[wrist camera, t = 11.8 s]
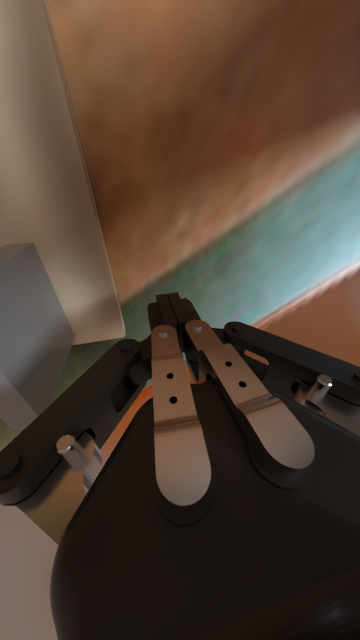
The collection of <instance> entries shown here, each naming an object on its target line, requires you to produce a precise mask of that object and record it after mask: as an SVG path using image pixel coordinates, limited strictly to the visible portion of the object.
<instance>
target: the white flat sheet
mask: <svg viewBox="0 0 360 640" xmlns="http://www.w3.org/2000/svg"><path fill="white" fill-rule="evenodd" d="M23 243H34V245H35V247H36V250H37V252H38V254H39V256H40V259H41V261H42V263H43V265H44V268H45V270H46V272H47V274H48V277H49V279H50V281H51V283H52V286H53V288H54V290H55V292H56V295H57V297H58V299H59V301H60V304H61V306H62V308H63V310H64V313H65V315H66V317H67V319H68V322H69V324H70V326H71V328H72V331H73V333H74V335H75V338H74V341H73V344H72V345H78V344H84V343H91V342H97V341H103V340H109V339H115V338H121V337H125V325H124V321H123V317H122V313H121V309H120V305H119V300H118V296H117V292H116V288H115V284H114V280H113V275H112V271H111V267H110V263H109V259H108V255H107V250H106V246H105V242H104V238H103V234H102V230H101V225H100V221H99V217H98V213H97V209H96V205H95V200H94V196H93V192H92V188H91V184H90V180H89V175H88V171H87V167H86V163H85V159H84V155H83V150H82V146H81V142H80V138H79V134H78V130H77V125H76V121H75V117H74V113H73V109H72V105H71V100H70V96H69V92H68V88H67V84H66V80H65V75H64V71H63V67H62V63H61V59H60V55H59V50H58V46H57V42H56V38H55V34H54V30H53V25H52V21H51V17H50V13H49V9H48V5H47V0H0V248H1V247H3V246H5V245H10V244H23Z"/></svg>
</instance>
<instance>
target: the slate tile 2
mask: <svg viewBox="0 0 360 640" xmlns="http://www.w3.org/2000/svg"><path fill="white" fill-rule="evenodd" d="M74 338H75V335H74V333H73V331H72V328H71V326H70V324H69V322H68V319H67V317H66V315H65V313H64V310H63V308H62V306H61V304H60V301H59V299H58V297H57V295H56V292H55V290H54V288H53V286H52V283H51V281H50V279H49V277H48V274H47V272H46V270H45V268H44V265H43V263H42V261H41V259H40V256H39V254H38V252H37V250H36V247H35V245H34V243H23V244H10V245H5V246H3V247H1V248H0V419H1V420H2V421H3V422H4V423H5V424H6V425H8V426H9V427H10V428H11V429H12V430H13V431H14V432H16V431H20V430H24V429H25V428H26V427H27V426H28V425H30V424H31V423H32V422H33V421H34V420H35V419H36V418H37V417H38V416H39V415H40V414H41V413H42V412H43V411H44V410H45V409H47V408H48V407H49V406H50V405H51V404H52V403H53V402H54V399H55V396H56V393H57V390H58V387H59V384H60V380H61V377H62V374H63V371H64V368H65V365H66V362H67V359H68V356H69V353H70V350H71V347H72V344H73V341H74Z"/></svg>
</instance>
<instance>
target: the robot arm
mask: <svg viewBox="0 0 360 640" xmlns="http://www.w3.org/2000/svg"><path fill="white" fill-rule="evenodd" d="M147 310H148V317H149V324H150V330H151V334H150V336H149V337H148V338H147V339H145V340H143V341H141V342H138V341H136V340H134V339H123V340H121V341H119V342H117V343H116V344H115V345H113V346H112V347H111V348H110V349H109V350H108V351H107V352H106V353H105V354H104V355H103V356H102V357H101V358H100V359H99V360H98V361H96V362H95V363H94V364H93V365H92V366H91V367H90V368H89V369H88V370H87V371H86V372H85V373H84V374H83V375H82V376H81V377H79V378H78V379H77V380H76V381H75V382H74V383H73V384H72V385H71V386H70V387H69V388H68V389H67V390H66V391H65V392H64V393H62V394H61V395H60V396H59V397H58V398H57V399H56V400H55V401H54V402H53V403H52V404H51V405H50V406H49V407H48V408H47V409H45V410H44V411H43V412H42V413H41V414H40V415H39V416H38V417H37V418H36V419H35V420H34V421H33V422H32V423H31V424H30V425H28V426H27V427H26V428H25V429H24V430H23V431H22V432H21V433H20V434H19V435H18V436H17V437H16V438H15V439H14V440H12V441H11V442H10V443H9V444H8V445H7V446H6V447H5V448H4V449H3V450H2V451H1V452H0V504H1V505H3V506H5V507H8V508H10V509H12V510H14V511H16V512H18V513H20V514H24V515H27V516H28V517H29V518H30V519H31V520H32V521H33V522H34V523H35V524H36V525H37V526H38V527H39V528H41V529H42V530H43V531H44V532H45V533H46V534H47V535H48V536H49V537H50V538H51V539H52V540H54V542H56V543H57V544H58V545H59V546H58V549H57V552H56V555H55V559H54V564H53V569H52V575H51V586H50V599H51V600H50V601H51V610H52V615H53V619H54V624H55V627H56V632H57V637H58V640H360V367H358V366H355V365H353V364H350V363H348V362H345V361H342V360H340V359H337V358H334V357H332V356H329V355H326V354H323V353H321V352H318V351H316V350H313V349H310V348H307V347H305V346H302V345H300V344H297V343H294V342H292V341H289V340H286V339H284V338H281V337H278V336H276V335H273V334H270V333H268V332H265V331H262V330H260V329H257V328H254V327H252V326H249V325H246V324H244V323H241V322H229V323H227V324H226V325H225V326H224V329H219V328H211V327H210V326H209V324H208V323H207V322H205V321H202V320H201V319H200V317H199V315H198V313H197V312H196V310H195V308H194V306H193V305H192V303H191V301H189V300H188V299H186V298H184V299H181V298H180V296H179V294H178V292H176V293H169V294H162V295H156V302H155V303H149V305H148V307H147ZM245 350H248V351H250V352H252V353H255V354H257V355H259V356H261V357H264V358H265V359H267V360H268V362H269V365H266V364H264V363H262V362H259V361H257V360H255V359H253V358H251V357H249V356H246V355H245ZM183 352H185V355H186V364H187V366H188V368H189V371H190V373H191V375H192V377H193V379H194V381H195V384H190V382H189V378H188V374H187V369H186V365H185V361H184V356H183V354H182V353H183ZM151 378H152V383H153V397H152V398H151V399H149V400H148V401H147V402H146V403H145V404H144V405H143V406H142V407H141V408H140V409H139V410H138V411H137V413H136V414H135V416H134V418H133V419H132V421H131V423H130V424H129V426H128V427H127V429H126V431H125V432H124V434H123V436H122V437H121V439H120V440H119V442H118V444H117V445H116V447H115V449H114V450H113V452H112V453H111V455H110V457H109V458H108V460H107V462H106V463H105V465H104V467H103V468H102V470H101V471H100V473H99V475H98V476H97V478H96V479H95V477H96V475H97V473H98V471H99V469H100V466H101V463H102V454H101V451H100V449H101V447H102V446H103V445H104V443H105V442H106V440H107V439H108V438H109V436H110V435H111V433H112V432H113V430H114V429H115V428H116V426H117V425H118V423H119V422H120V421H121V419H122V418H123V416H124V415H125V413H126V412H127V411H128V409H129V408H130V406H131V405H132V404H133V402H134V401H135V399H136V398H137V396H138V395H139V394H140V392H141V391H142V389H143V388H144V387H145V385H146V382H147V380H149V379H151ZM94 480H95V481H94Z"/></svg>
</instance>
